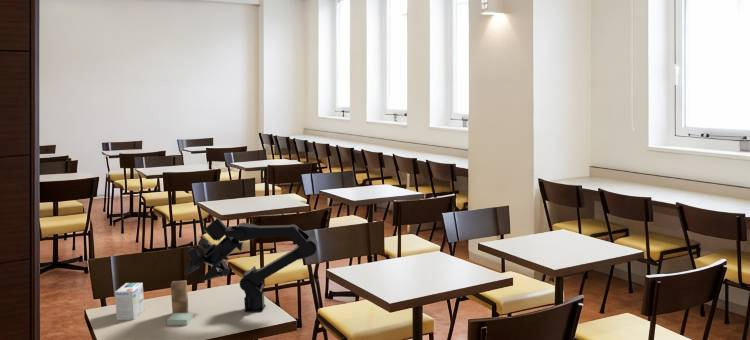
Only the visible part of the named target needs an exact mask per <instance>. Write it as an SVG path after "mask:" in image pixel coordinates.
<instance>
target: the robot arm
mask: <svg viewBox="0 0 750 340" xmlns="http://www.w3.org/2000/svg"><path fill="white" fill-rule="evenodd" d="M203 231H204V232H205V233H206V234H207V235H208V236H209V237H210V238H211V239H212V240H213V241H216V242H217V241H219V243H217V244H216V243H211V242H209V240H208V239H206V238H204V237H203V238H201V239H199V241H198V242H197V245H198V248H199V249H197V248H194V247H191V248H190V250H188V252H187V253H188V256H189V258H190V259H189V263H188V265H187V267H186V269H185V271H184V275H185V276H188V275H189V274H191V273H193V272H195V271H196V270H198V269H200V268H201V266H202V265H204V264H206V265H209V266H211V268H210V269H209V270H208V271H206V273H205V274H204V275H203V276H202V278H200V281H201V282H206V281H209V280H212V279H216V278H220V277H223V276H224V277H227V276H228V275H230V272H231V271H230V270H231V269H230V268H229V266H228V264H227V262H226V261H227V260H229V257H228V256H230V255H231V253H233V252H234V251H235V250H236V249H237V250H238V251H240V252H241V251H243V248H244V242H245V241H246V242H247V241H251V240H254V239H258V238H279V237H280V238H281V237H282V238H283V237H285V238H286V237H288V238H290V239H291V240H292V241H293V242H294V243H295V244H296V246H295V247H294V248H293V249H292V250H290V251H288V252H287V253H285V254H283V255H282V256H280V257H278V258H276V259H275V260H273V261H271V262H269V263H268V264H266V265H264V266H262V267H260V268H256V265H255V266H252V268H250V269H249V270H245V271H244V273H243V275H242V277H241V279H240V280H239V287H240V289H241V290H242V291H243V292H244V294H245V296H244V298H243V299H244V301H243V302H244V308H245V310H244V311H245V312H263V310H265V308H266V307H267V306H266V304H265V291H263V289H264V285H265V283H264V282H263V281H264V280H266V279H267V278H269V277H270V276H272V275H273V274H275V273H278V272H279V271H281V270H282V269H284V268H286V267H288V266H290V265H291V264H292V263H295V262H296V261H299V260H303V259H307V258H309V257H312V256H314V255H315V254H316V253H317V249H318V246H319V242H318V240H317V239H316V238H315V237H313V236H310V235H309V234H307V233H306V232H305V231H303V230H302V229H301V228H300V227H298V226H297V225H296V224H293V223H292V224H285V225H283V224H282V225H280V224H279V225H278V224H277V225H257V224H254V223H249V222H241V223H238V224H237V225H232V226H231V225H229V226H228V227H227V226H226V224H225V223H224V222H223V221H222V220H221V219H220V218H219V217H217V218H215V220H213V221H211V223H209V224H208V225H206V227H205V228H204V229H203ZM224 236H225V237H224ZM222 238H223V239H222ZM220 240H221V241H220ZM200 249H201V250H200ZM202 250H203V252H202ZM203 254H204V255H205V256H204V255H203Z"/></svg>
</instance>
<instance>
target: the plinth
mask: <svg viewBox="0 0 750 340" xmlns="http://www.w3.org/2000/svg"><path fill="white" fill-rule="evenodd" d="M193 319H194V312H188V313H173V312H172V314H171V315H170V316H169V317H168V318H167V319H166V320H167V321H166V324H167V326H188V325H189V324H190V322H191V321H192V320H193Z"/></svg>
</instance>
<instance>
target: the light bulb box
mask: <svg viewBox="0 0 750 340" xmlns="http://www.w3.org/2000/svg"><path fill="white" fill-rule="evenodd" d="M143 285H144V284H143V282H125V283H124V284H123V285H121V286H120V287H119V288H118V289H117V290H115V291H114V299H115V300H114V301H115V314H116V321H126V320H127V321H128V320H129V321H130V320H131V321H134V320H135V319H136V318H137V317H138V316H139V315H141V314H142V313H143V312H144V311H145V298H144V286H143Z"/></svg>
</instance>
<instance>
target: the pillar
mask: <svg viewBox="0 0 750 340" xmlns="http://www.w3.org/2000/svg"><path fill="white" fill-rule="evenodd" d="M187 282H188V281H187V280H186V279H185V280H173V281H171V284H170V296H171V308H172V309H171V310H172V312H171V313H172V314H173V313H190V312H189V297H188V284H187Z"/></svg>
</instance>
